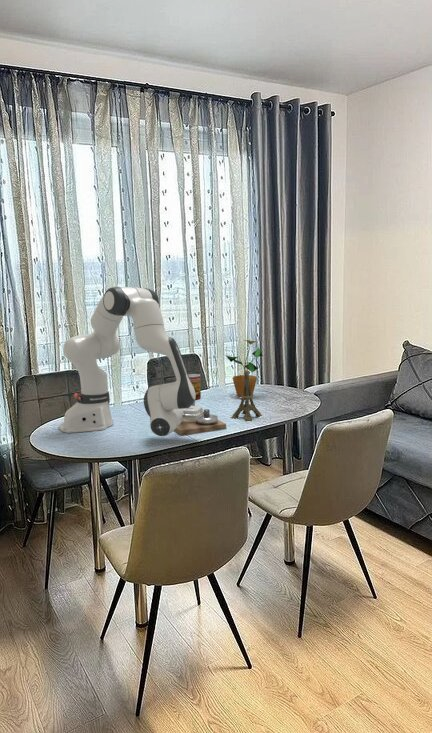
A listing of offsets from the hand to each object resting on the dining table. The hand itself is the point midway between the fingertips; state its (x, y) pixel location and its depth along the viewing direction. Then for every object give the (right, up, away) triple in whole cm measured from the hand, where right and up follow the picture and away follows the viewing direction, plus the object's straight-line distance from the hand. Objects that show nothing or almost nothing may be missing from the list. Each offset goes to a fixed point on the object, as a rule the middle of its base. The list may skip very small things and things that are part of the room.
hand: (180, 406), depth 228 cm
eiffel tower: (+28, -7, +23) cm, 37 cm away
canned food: (+2, 0, +59) cm, 59 cm away
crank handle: (+5, -7, +9) cm, 13 cm away
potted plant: (+29, 0, +62) cm, 68 cm away
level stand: (+4, -9, +13) cm, 16 cm away
